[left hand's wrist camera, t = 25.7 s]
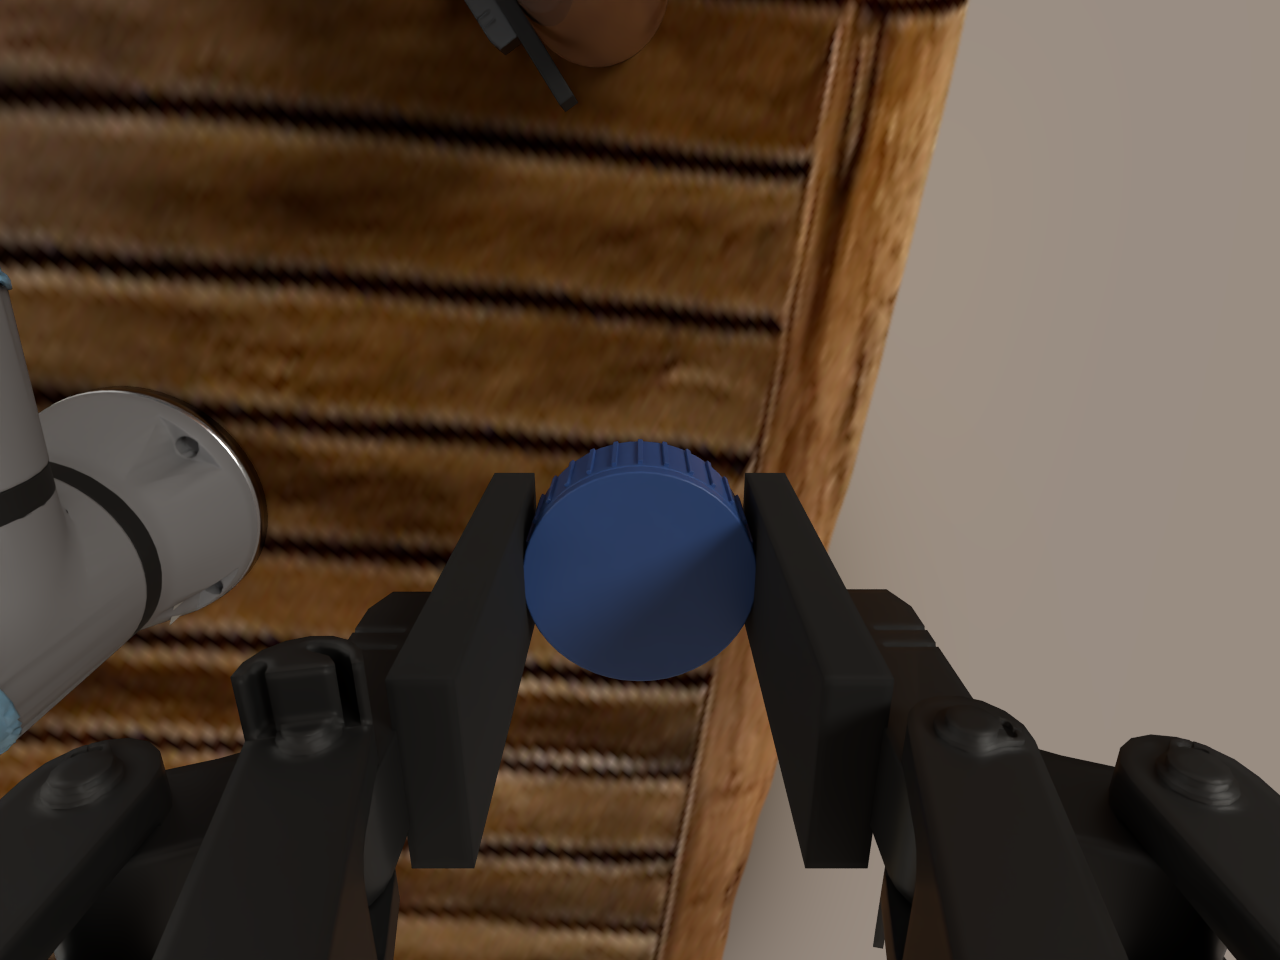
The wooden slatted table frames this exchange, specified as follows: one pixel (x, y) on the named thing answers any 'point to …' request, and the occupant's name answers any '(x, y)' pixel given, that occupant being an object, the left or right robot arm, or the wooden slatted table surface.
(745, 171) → the wooden slatted table surface
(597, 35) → the bottle
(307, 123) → the wooden slatted table surface
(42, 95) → the wooden slatted table surface
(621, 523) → the cap
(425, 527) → the wooden slatted table surface
